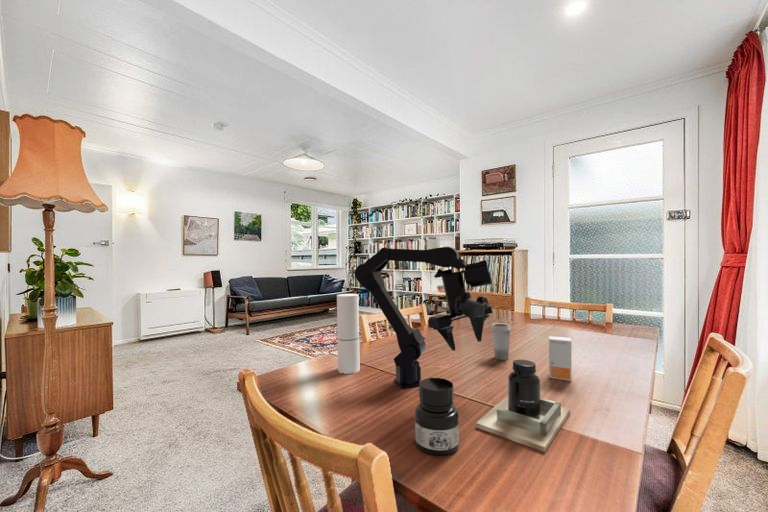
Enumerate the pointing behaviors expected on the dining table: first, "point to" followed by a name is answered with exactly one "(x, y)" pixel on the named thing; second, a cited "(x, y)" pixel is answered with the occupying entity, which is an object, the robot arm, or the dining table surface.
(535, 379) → the supplement bottle
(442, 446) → the ink bottle
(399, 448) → the dining table surface
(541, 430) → the cradle board
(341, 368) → the cylindrical container
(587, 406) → the dining table surface
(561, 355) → the skincare box
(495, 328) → the cup
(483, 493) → the dining table surface
